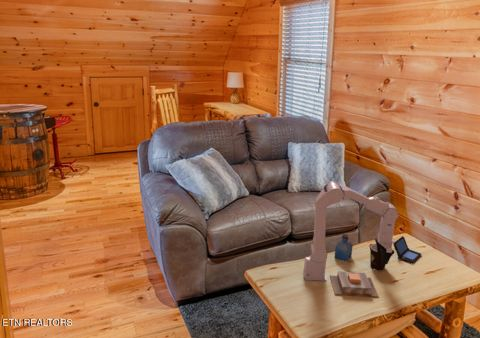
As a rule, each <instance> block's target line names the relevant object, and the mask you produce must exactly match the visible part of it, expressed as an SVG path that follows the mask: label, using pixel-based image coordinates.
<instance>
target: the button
mask: <svg viewBox="0 0 480 338" xmlns="http://www.w3.org/2000/svg"><path fill="white" fill-rule="evenodd" d="M348 280H349V283H360V282H361V279H360V276H359V274H349V273H348Z"/></svg>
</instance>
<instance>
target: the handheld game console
mask: <svg viewBox="0 0 480 338" xmlns="http://www.w3.org/2000/svg"><path fill="white" fill-rule="evenodd" d="M392 246H393V247H394V251H395V252H396V255H397V259H398V260H401V261H403V262H405V263H408V264H414V263H415V262H416V261H418V260H419V259H420V258H421V256H422V253H421V252H418V251H415V250H412V249H410V248H409V246H408V244H407V242H406V239H405V237H404V236H403V235H402V236H401V237H399V238H398V239H397V240H395V243H392Z"/></svg>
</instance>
